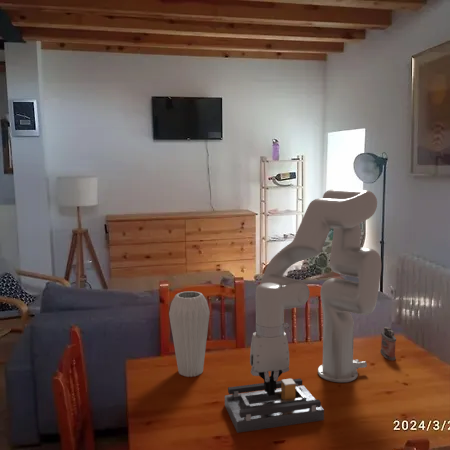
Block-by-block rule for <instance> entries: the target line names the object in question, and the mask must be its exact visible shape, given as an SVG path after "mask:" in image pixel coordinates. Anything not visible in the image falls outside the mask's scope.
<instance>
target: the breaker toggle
mask: <svg viewBox="0 0 450 450" xmlns="http://www.w3.org/2000/svg"><path fill="white" fill-rule="evenodd" d="M292 379H293V378H286V379H285V378H284V379H281V380H280V381H281V398H282V399H283V400H286V399H294V398H295V395H296V383H295V382H294V381H293V380H292Z"/></svg>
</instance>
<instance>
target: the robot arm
mask: <svg viewBox="0 0 450 450" xmlns="http://www.w3.org/2000/svg"><path fill="white" fill-rule="evenodd" d="M377 207H378V199H377V197H376V195H375V193H374V192H372V191H370V190H367V189H366V190H365V189H348V188H347V189H346V188H334V189H329V190H326V191H325V192H324V193H323V195H322V198H321V197H320V198H315V199H313V200H311V201H310V203H309V204H308V205H307V208H306V209H305V213H304V215H303V217H302V219H301V222H300V224H299V226H298V229H297V231H296V234H295V236H294V238H293V240H292V241H291V242H290V243H289V244H287V245H285V246H284V247H283V248H282V249H280V250H279V251H278V252H277V253H276V254H274V256H273V257H272V258H271V259H270V260H269V263H268V264H267V266H266V269H265V270H264V273H263V275H262V278H261V280H260V284H257V286H256V288H255V332H253V333H252V336H251V344H250V353H249V364H250V366H251V369H250V374H251V375H252V376H253V377H254V376H255V377H260V378H262V380H263V383H264V390H265V392H267V394H268V395H269V396H271V395H275V390H276V389H277V388H276V381H279V377H280V376H282V374H284V373H287V372H290V367H289V366H290V351H289V349H290V348H289V342H288V338H287V337H288V335H287V333H286V332H285V331H286V329H289V327H290V325H289V323H288V322H285V310H287V309H294V308H300V307H302V306H304V305H305V304H306V303H307V302H308V300H309V298H310V295H311V294H310V292H311V291H310V288H309V286H308V284H306V283H305V282H304V281H301V280H299V279H294V278H291V277H287V276H284V275H285V273H286V272H287V270H288V269H289V268H291V266H293V265H295V264H296V263H300V262H302V261H305V260H308V259H311V258H314V257H317V256H318V255H320V254H321V253H322V251H323V247H324V245H325V243H326V240H327V238H328V236H329V233H330V232H331V229H333V235H332V242H331V243H332V244H331V250H330V258H329V267H330V269H331V271H332V272H333V273H335V274H338V275H343V276H347V277H353V278H358V281H352V280H350V279H343V278H337V277H332V278H329V279H326V280H325V281H324V282H323V283H322V285H321V287H320V300H321V306H322V313H323V324H322V325H323V326H322V332H323V333H322V364H321V365H319V366H318V367H317V374H318V375H319V377H321V379H324V380H326V381H330V382H333V383H350V382H353V381H355V380H356V379H357V378H358V375H359V374H358V370H359V368H360V369H361V368H367V367H368V364H367V361H366V360H365V361H364V360H363V361H360V360H359V359H358V358H357V359H354V340H355V339H354V336H355V335H354V334H355V323H354V318H353V315H352V314H356V315H362V316H368V315H371V314H372V313H373V312H374V310H375V309H376V305H377V302H378V298H379V297H378V296H379V291H380V289H379V288H380V281H381V274H382V258H381V255H380V254H379V252H378V251H377V250H375V249H373V248H369V247H362V246H361V239H362V228H361V225H360V224H361V223H364V222H366V221H367V220H369V219H370V218H371V217H373V216H374V214H375V212H376V210H377V209H378V208H377ZM269 372H270V373H269ZM264 390H263V391H264Z"/></svg>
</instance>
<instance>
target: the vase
mask: <svg viewBox="0 0 450 450" xmlns="http://www.w3.org/2000/svg"><path fill="white" fill-rule="evenodd" d="M209 307H210V306H209V303H208V301H207V299H206V297H205V296H204V294H203V293H202V292H200V291H193V290H191V291H189V290H188V291H181V292H177V294H174V297H173V298H172V301H171V303H170V307H169V312H168V317H169V321H170V328H171V333H172V334H171V335H172V340H173V346H174V353H175V360H176V366H177V370H178V374H179V375H181V376H184V377H187V378H189V377H190V378H192V377H196V376H200V375H202V373H203V371H204V365H205V356H206V348H207V340H208V339H207V338H208V332H209V331H208V330H209V322H210V321H209V320H210V311H211V310H210V308H209Z"/></svg>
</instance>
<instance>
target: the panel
mask: <svg viewBox="0 0 450 450" xmlns="http://www.w3.org/2000/svg"><path fill="white" fill-rule="evenodd" d="M310 400H317V399H316V398H315V397H314V395H312V394H311V392H310V391H309V390H308V389H307V388H306V387H305V385H303V384H302V385H299V386H296V395H295V398H294V399H286V400H283V399H282V398H281V388H276V390H275V395H271V396H269V395H268V394H267V392H265V390H260V391H252V392H244V393H238V397H234V396H233V394H226V395H224V407H225V409H226V411H227V413H228V416H229V417H230V420H231V421H232V424H233V426H234V429H235V431H236V433H237V434H238V433H243V432H245V433H246V432H252V431H258V430H265V429H271V428H278V427H285V426H292V425H298V424H299V425H300V424H305V423H306V424H307V423H313V422H319V421H325V409H324V407H323V406H322V405H321V407H316V411H313V412H312V411H311V410H310V409H301V410H294V411H287V412H280V413H273V414H266V415H259V416H251V420H249V421H246V419H245V417H244V418H241V417H240V415H239V410H243V409H251V408H258V407H266V406H273V405H280V404H288V403H295V402H302V401H310Z"/></svg>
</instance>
